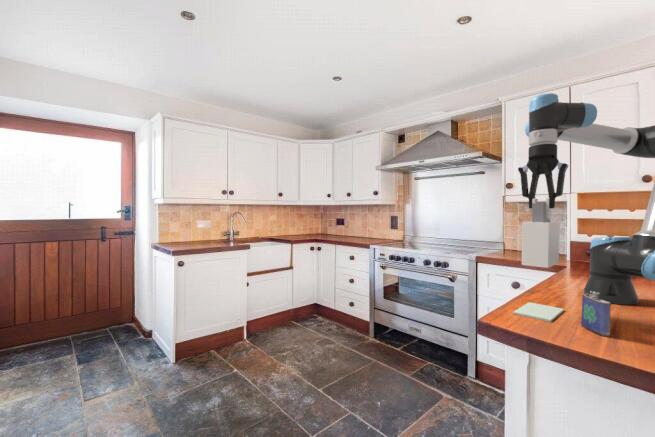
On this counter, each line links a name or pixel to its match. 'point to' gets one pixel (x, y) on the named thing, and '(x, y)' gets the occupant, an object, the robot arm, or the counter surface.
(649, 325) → the counter surface
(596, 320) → the flask
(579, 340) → the counter surface
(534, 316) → the mat
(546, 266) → the off-white upright block
